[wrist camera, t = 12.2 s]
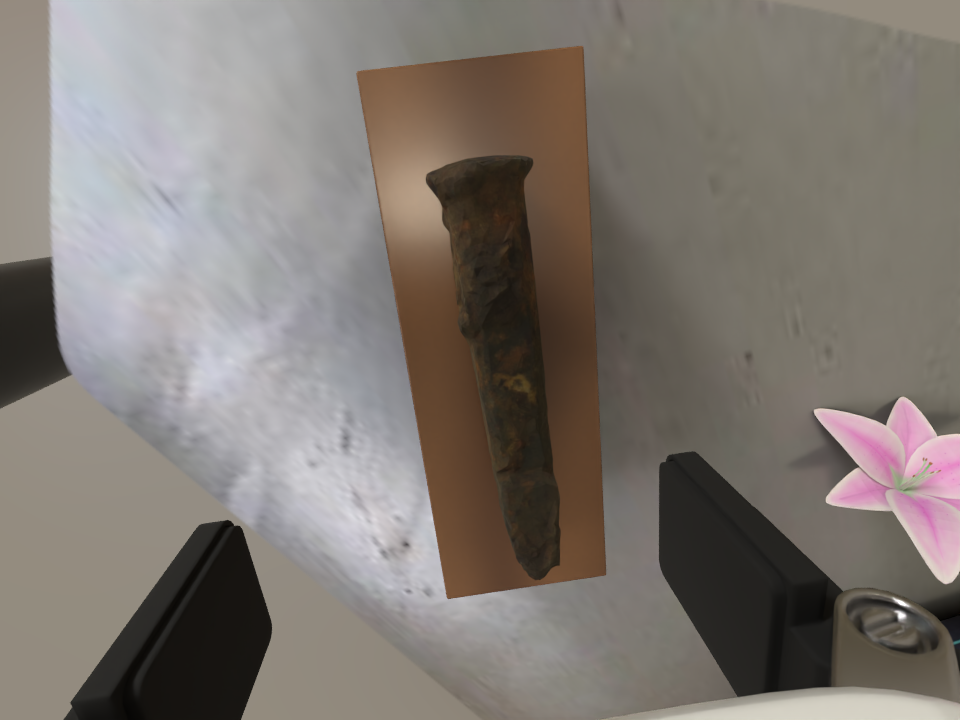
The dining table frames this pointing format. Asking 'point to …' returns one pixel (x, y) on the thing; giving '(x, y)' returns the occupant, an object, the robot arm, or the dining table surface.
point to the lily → (904, 478)
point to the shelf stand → (434, 311)
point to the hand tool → (504, 342)
